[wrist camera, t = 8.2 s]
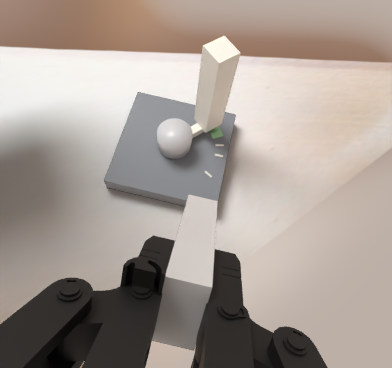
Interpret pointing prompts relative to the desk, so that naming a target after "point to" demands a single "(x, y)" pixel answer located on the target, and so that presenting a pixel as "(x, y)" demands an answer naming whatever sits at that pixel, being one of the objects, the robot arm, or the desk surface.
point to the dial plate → (162, 166)
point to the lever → (203, 99)
